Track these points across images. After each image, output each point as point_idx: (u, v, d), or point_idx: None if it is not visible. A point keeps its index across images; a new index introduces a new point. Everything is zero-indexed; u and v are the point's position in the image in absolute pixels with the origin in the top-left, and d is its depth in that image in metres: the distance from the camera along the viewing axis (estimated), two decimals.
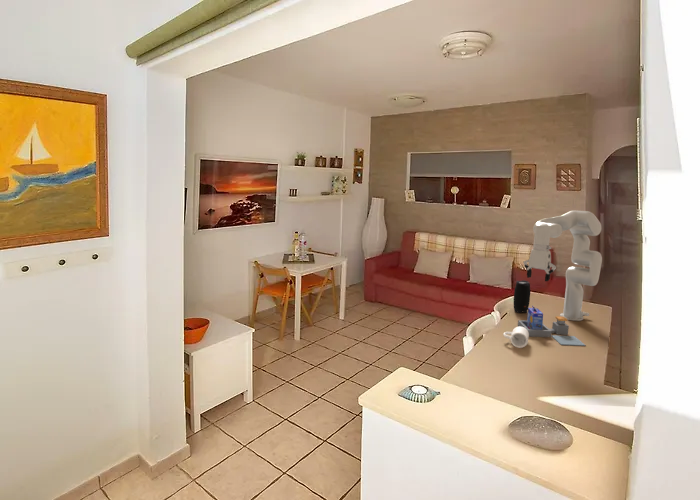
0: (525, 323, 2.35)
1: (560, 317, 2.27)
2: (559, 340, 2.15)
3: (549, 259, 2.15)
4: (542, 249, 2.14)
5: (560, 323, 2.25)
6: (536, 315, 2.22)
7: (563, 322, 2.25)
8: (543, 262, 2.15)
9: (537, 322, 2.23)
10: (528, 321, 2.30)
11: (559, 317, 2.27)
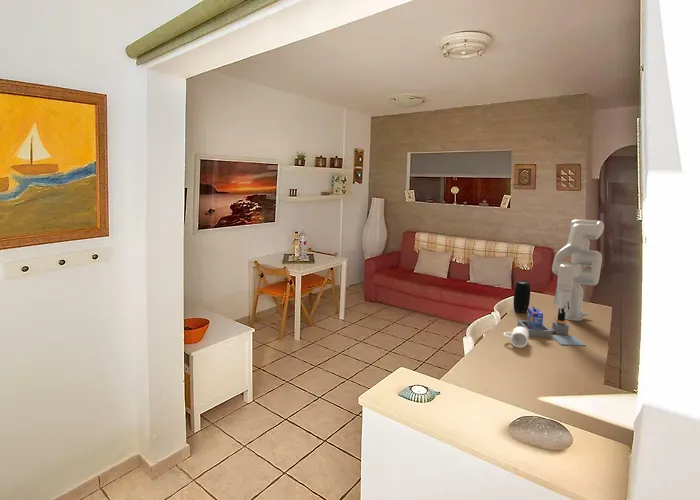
0: (525, 323, 2.35)
1: None
2: (559, 340, 2.15)
3: None
4: None
5: None
6: (536, 315, 2.22)
7: (563, 324, 2.25)
8: None
9: (537, 322, 2.23)
10: (528, 321, 2.30)
11: None
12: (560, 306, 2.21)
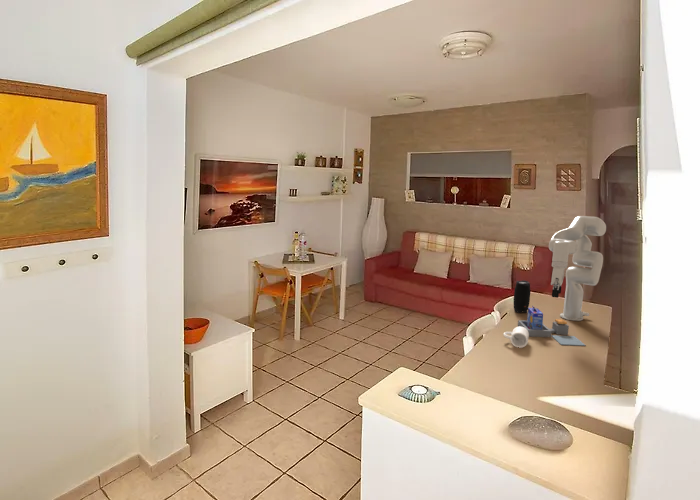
0: (525, 323, 2.35)
1: (560, 320, 2.27)
2: (559, 340, 2.15)
3: None
4: None
5: None
6: (536, 315, 2.22)
7: None
8: (563, 276, 2.24)
9: (537, 322, 2.23)
10: (528, 321, 2.30)
11: (559, 320, 2.27)
12: (551, 282, 2.21)
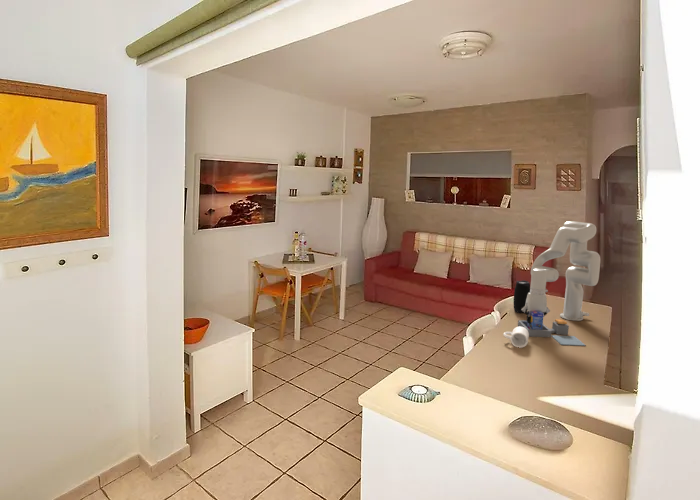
0: (525, 323, 2.35)
1: (560, 320, 2.27)
2: (559, 340, 2.15)
3: None
4: (543, 293, 2.22)
5: None
6: (537, 315, 2.22)
7: None
8: (543, 305, 2.23)
9: (537, 322, 2.23)
10: None
11: (559, 320, 2.27)
12: None
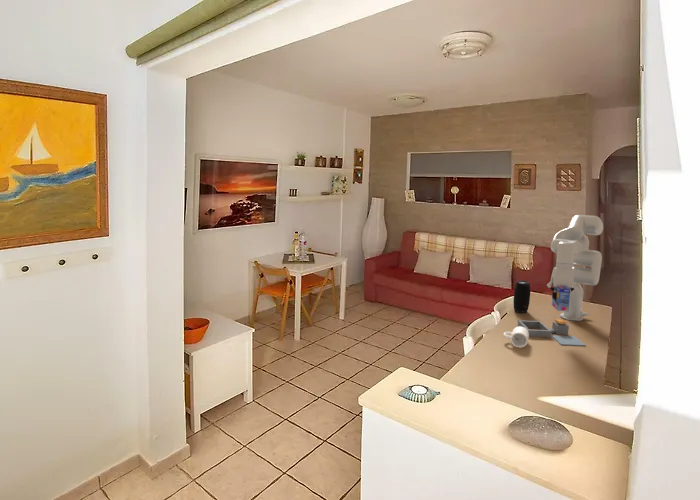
0: (525, 323, 2.35)
1: (560, 320, 2.27)
2: (559, 340, 2.15)
3: None
4: (570, 267, 2.10)
5: None
6: (563, 291, 2.11)
7: None
8: (570, 280, 2.12)
9: (564, 298, 2.11)
10: None
11: (559, 320, 2.27)
12: None
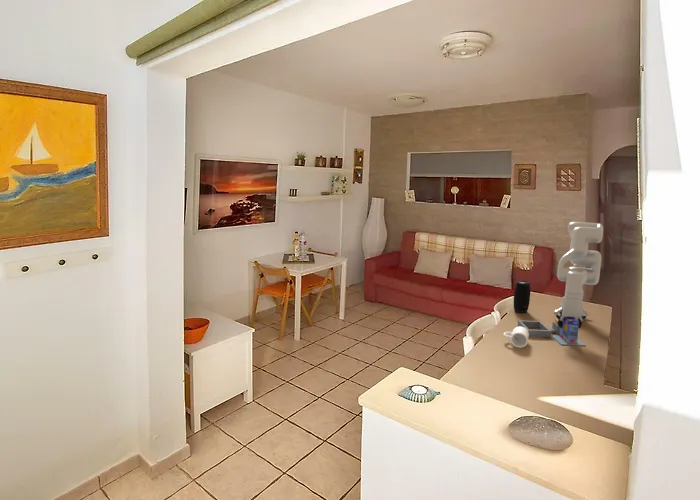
0: (525, 323, 2.35)
1: None
2: (559, 340, 2.15)
3: None
4: (580, 297, 2.09)
5: None
6: (572, 323, 2.09)
7: None
8: (579, 310, 2.10)
9: (572, 330, 2.10)
10: (561, 329, 2.17)
11: None
12: None
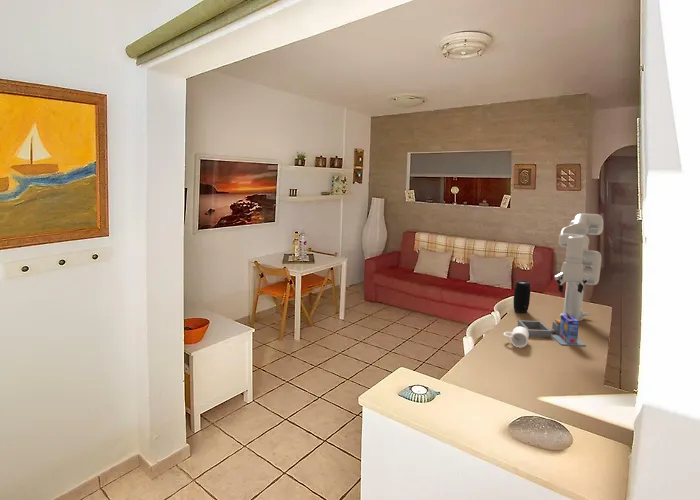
0: (525, 323, 2.35)
1: (560, 320, 2.27)
2: (559, 340, 2.15)
3: None
4: (580, 262, 2.11)
5: None
6: (572, 323, 2.09)
7: None
8: (580, 274, 2.13)
9: (572, 330, 2.10)
10: (561, 329, 2.17)
11: (559, 320, 2.27)
12: None
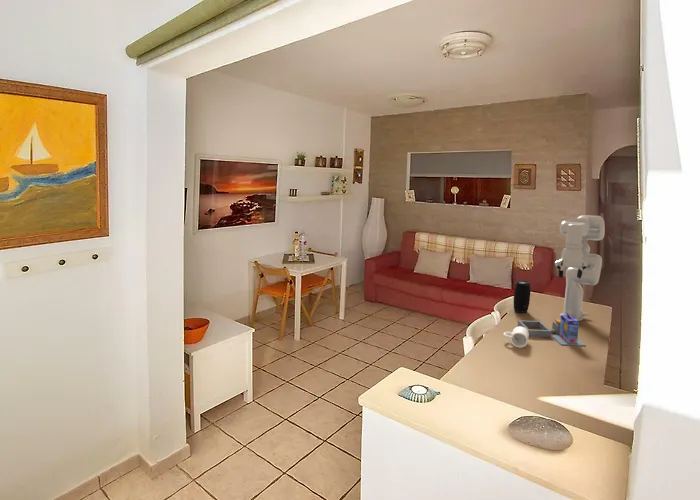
0: (525, 323, 2.35)
1: (560, 320, 2.27)
2: (559, 340, 2.15)
3: None
4: (580, 248, 2.20)
5: None
6: (572, 323, 2.09)
7: None
8: (579, 260, 2.22)
9: (572, 330, 2.10)
10: (561, 329, 2.17)
11: (559, 320, 2.27)
12: None
